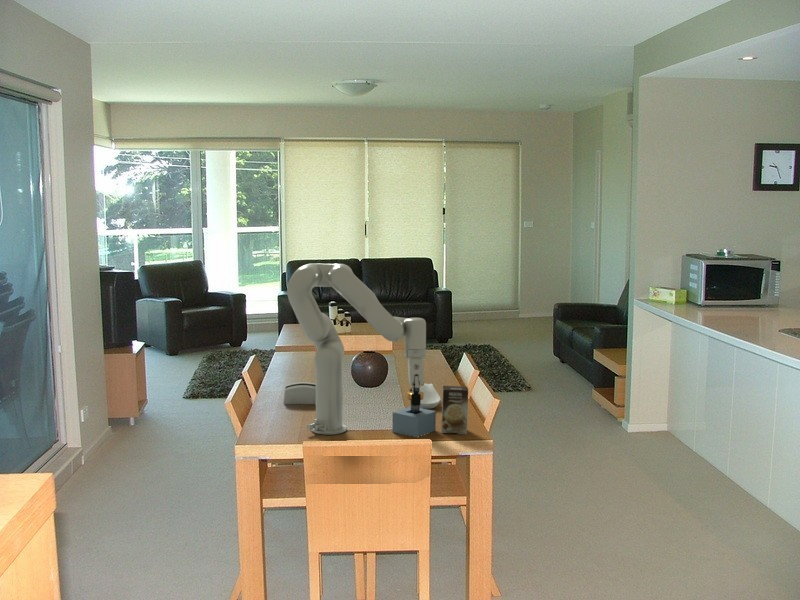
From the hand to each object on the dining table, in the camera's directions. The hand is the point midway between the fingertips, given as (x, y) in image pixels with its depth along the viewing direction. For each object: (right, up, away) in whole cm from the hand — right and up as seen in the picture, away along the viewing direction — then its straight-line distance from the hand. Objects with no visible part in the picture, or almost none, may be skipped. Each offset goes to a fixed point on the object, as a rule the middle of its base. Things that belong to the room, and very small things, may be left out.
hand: (415, 402), depth 275 cm
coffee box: (+14, -11, +2) cm, 18 cm away
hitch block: (0, -11, +1) cm, 11 cm away
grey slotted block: (-44, -6, +39) cm, 59 cm away
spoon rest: (+6, -6, +41) cm, 42 cm away
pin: (0, -6, +1) cm, 6 cm away
